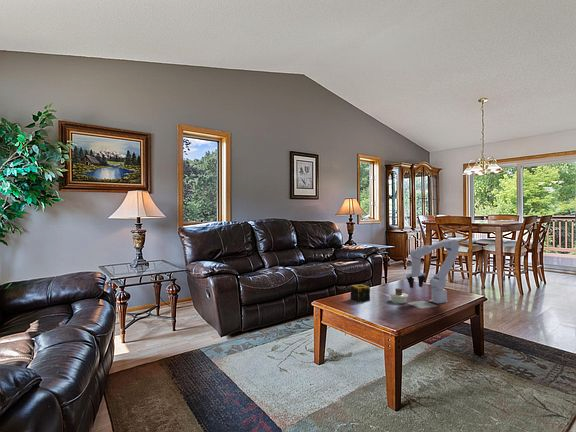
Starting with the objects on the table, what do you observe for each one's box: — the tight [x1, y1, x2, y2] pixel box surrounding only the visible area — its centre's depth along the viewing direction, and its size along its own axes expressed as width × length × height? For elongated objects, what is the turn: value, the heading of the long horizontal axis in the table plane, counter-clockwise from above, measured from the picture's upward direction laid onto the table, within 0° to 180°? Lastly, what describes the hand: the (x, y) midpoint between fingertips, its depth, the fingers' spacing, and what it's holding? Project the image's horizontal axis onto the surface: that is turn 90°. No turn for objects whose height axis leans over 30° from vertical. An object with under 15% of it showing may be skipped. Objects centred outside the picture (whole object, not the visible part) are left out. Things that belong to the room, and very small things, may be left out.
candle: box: [350, 283, 371, 303], centre depth 227 cm, size 10×10×10 cm
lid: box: [389, 287, 409, 299], centre depth 220 cm, size 12×12×5 cm
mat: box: [406, 300, 438, 309], centre depth 212 cm, size 14×14×1 cm
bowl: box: [390, 296, 407, 304], centre depth 220 cm, size 10×10×4 cm
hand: (416, 287), depth 218 cm, fingers open, 7 cm apart
